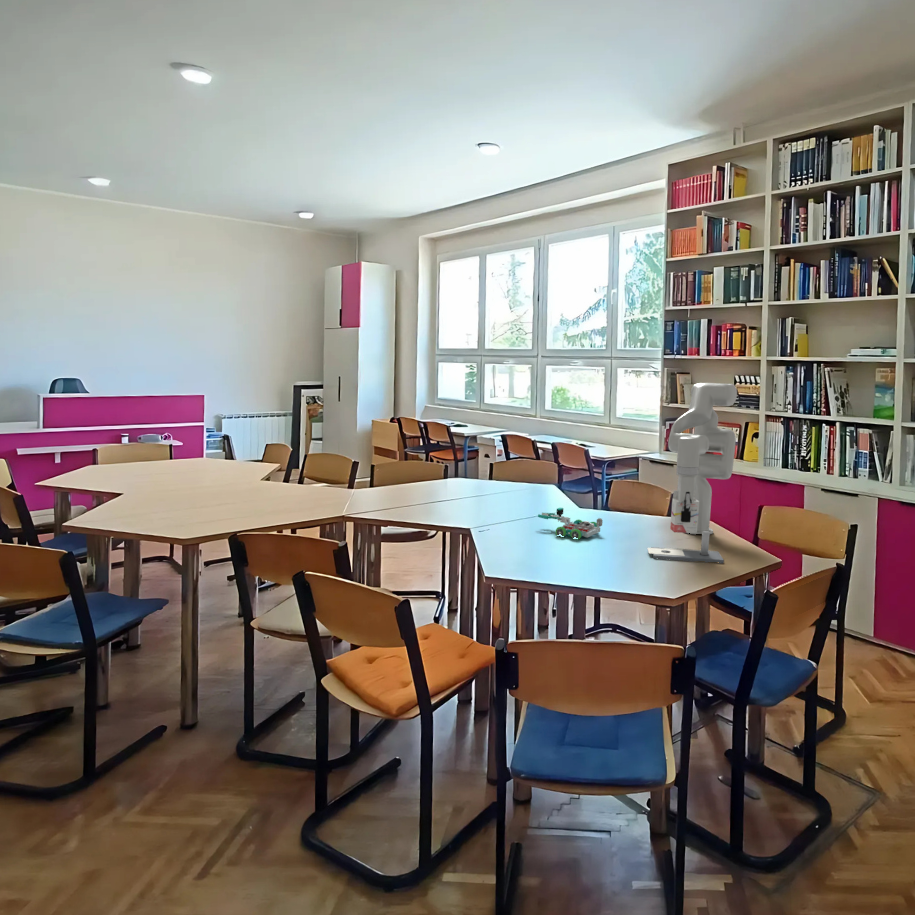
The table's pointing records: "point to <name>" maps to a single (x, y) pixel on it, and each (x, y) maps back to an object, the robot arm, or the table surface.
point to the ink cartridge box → (676, 516)
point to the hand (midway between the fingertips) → (684, 519)
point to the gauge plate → (688, 552)
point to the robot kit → (573, 525)
